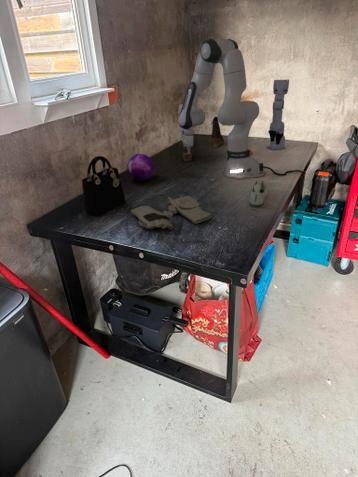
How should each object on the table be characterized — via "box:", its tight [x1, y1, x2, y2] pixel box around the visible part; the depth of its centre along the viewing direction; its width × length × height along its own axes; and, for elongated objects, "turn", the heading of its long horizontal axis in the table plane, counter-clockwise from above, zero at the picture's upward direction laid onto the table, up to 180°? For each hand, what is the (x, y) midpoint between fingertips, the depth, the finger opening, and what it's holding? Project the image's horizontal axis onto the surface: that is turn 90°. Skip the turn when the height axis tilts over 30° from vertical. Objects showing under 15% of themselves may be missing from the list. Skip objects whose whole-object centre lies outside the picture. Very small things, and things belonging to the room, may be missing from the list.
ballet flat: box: [249, 179, 269, 207], centre depth 158 cm, size 8×24×8 cm, turn 163°
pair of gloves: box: [130, 195, 212, 230], centre depth 145 cm, size 30×26×5 cm
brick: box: [182, 152, 193, 162], centre depth 218 cm, size 5×4×4 cm
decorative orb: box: [126, 153, 155, 182], centre depth 186 cm, size 15×15×15 cm
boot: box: [210, 116, 225, 149], centre depth 246 cm, size 9×24×20 cm, turn 168°
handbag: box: [81, 155, 126, 217], centre depth 153 cm, size 21×9×25 cm, turn 148°
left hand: (187, 150), depth 217 cm, fingers open, 8 cm apart
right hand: (274, 142), depth 213 cm, fingers open, 7 cm apart
